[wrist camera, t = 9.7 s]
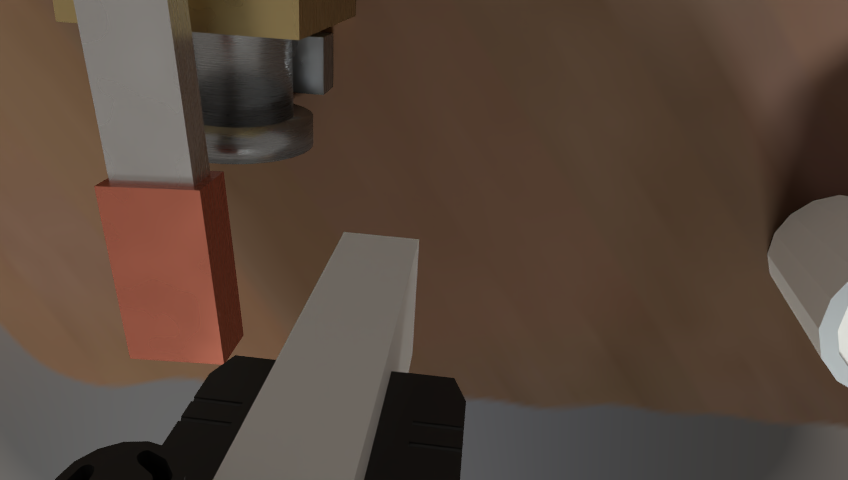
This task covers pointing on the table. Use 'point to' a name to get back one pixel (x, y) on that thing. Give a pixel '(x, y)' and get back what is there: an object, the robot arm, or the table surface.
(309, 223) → the table surface
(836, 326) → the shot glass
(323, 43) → the pipe valve
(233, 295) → the lever
